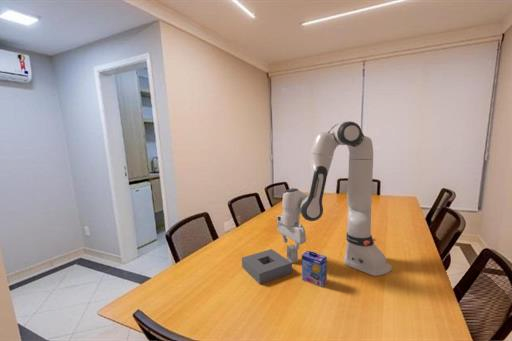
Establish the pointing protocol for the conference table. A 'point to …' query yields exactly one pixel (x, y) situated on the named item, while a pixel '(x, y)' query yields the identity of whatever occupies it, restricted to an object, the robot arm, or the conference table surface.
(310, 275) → the ink cartridge box
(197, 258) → the conference table surface
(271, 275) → the socket block
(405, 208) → the conference table surface
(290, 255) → the peg
